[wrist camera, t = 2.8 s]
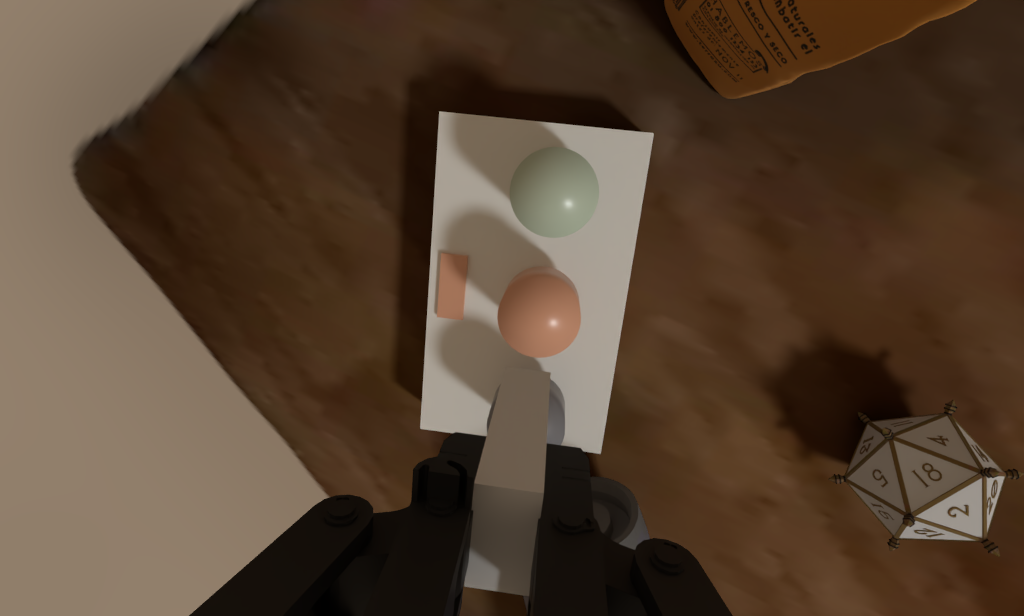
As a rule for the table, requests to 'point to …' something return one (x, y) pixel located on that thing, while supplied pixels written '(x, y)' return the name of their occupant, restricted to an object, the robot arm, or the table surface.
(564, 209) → the sage button
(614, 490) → the bluetooth speaker
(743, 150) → the table surface
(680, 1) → the coffee package
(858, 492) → the game die
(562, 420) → the charcoal button
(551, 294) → the terracotta button
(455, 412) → the console
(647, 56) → the table surface
